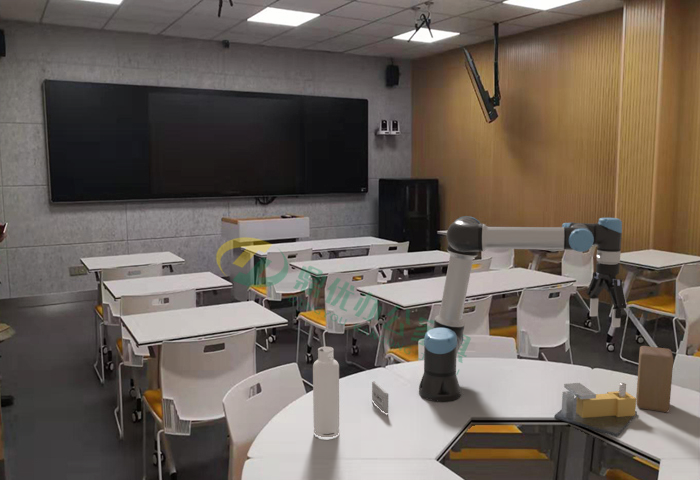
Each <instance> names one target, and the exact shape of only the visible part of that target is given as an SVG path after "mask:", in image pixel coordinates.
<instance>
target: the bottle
mask: <svg viewBox="0 0 700 480" xmlns="http://www.w3.org/2000/svg"><path fill="white" fill-rule="evenodd" d="M317 354H318V355H317V357H318V358H317V359H316V360H315V361H314V363H312V364H313V365H312V390H313V391H312V392H313V393H312V396H313V397H312V400H313V401H312V402H313V403H312V404H313V409H312V410H313V434H314V433H315V434H316V435H318V436H321V437H333V436H336V435H338V433H339V434H340V364H339V362H338V361H337V360H336V359H335V358H334V357H335V356H334V348H333V347H331V346H321V347H319V348H317ZM315 431H316V432H315Z"/></svg>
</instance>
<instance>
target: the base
mask: <svg viewBox="0 0 700 480" xmlns="http://www.w3.org/2000/svg"><path fill="white" fill-rule="evenodd" d="M618 386H619V388H618V391H619V398H625V393H626V392H627V391H626V389H627V384H626V383H625V382H619V385H618ZM576 405H577V397H576V396H574V410H573V418H565V417H564V416H563V415H561V413H562V408H561V409H560V410H559V411H557V413H555V414H554V419H557V420H560V421H562V422H566V423H569V424H573V425H577V426H580V427H583V428H586V429H589V430H593V431H597V432H599V433H603V434H607V435H610V436H612V437H616V438H617V437H618V436H619V435H620V434H621V433H622V432H623V431H624V430H625V429H626V428H627V426H628V425H629V424H630V423H631V422H632V421H633V419H635V417H636V416H637V415H638V411H637V410H635V416H623V417H617V416H616V415H613V416H600V417H587V418H582V417H581V416H580V415H578V414H577V413H576ZM630 421H631V422H630Z"/></svg>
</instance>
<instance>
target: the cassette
mask: <svg viewBox="0 0 700 480" xmlns="http://www.w3.org/2000/svg"><path fill="white" fill-rule="evenodd" d="M371 385H372V387H371V399H372V400H373V401H374V403H375V404H376V405H377V406H378V407H379V408H380V409H381V410H382V411H384V412H385V413H388V414H389V392H387V391H386V390H385V389H384V388H382V387H381V386H380V385H379V384H378V383H377V382H376V381H372V382H371ZM372 400H371V401H372Z"/></svg>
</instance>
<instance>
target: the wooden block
mask: <svg viewBox="0 0 700 480" xmlns="http://www.w3.org/2000/svg"><path fill="white" fill-rule="evenodd" d="M638 355H639V356H638V369H637V381H636V382H637V383H636V394H635V395H636V397H635V398H636V406H637V408H639V409H645V410H650V411H657V412H662V413H668V412H669V411H670V407H671V405H670V404H671V392H672V383H673V382H672V380H673V367H674V356H673V351H672V350H671V348H666V347H663V348H662V347H656V346H648V345H641V346H640V347H639V354H638Z"/></svg>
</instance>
